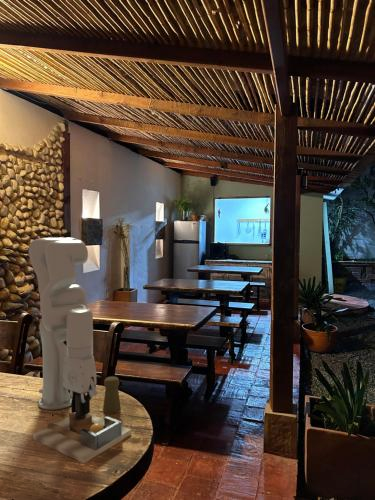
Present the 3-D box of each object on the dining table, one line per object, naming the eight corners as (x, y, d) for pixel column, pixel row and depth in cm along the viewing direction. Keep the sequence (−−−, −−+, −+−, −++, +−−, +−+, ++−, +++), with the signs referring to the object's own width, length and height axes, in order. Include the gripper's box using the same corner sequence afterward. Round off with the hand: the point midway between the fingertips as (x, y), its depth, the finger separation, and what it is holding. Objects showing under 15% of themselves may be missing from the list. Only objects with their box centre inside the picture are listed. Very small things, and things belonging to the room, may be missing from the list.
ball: (95, 426, 109) (97, 441, 109) (105, 421, 113) (107, 435, 112) (85, 425, 112) (87, 440, 111) (96, 420, 115) (98, 434, 115)
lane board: (33, 438, 114) (32, 428, 114) (81, 415, 129) (81, 406, 129) (84, 463, 102) (83, 452, 102) (131, 434, 117) (130, 424, 117)
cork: (116, 414, 130) (116, 381, 130) (99, 412, 131) (99, 380, 131) (123, 406, 136) (123, 375, 136) (107, 404, 137) (106, 374, 137)
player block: (69, 431, 115) (69, 395, 115) (82, 425, 119) (82, 389, 119) (78, 435, 113) (78, 398, 112) (91, 428, 117) (91, 392, 116)
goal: (80, 444, 109) (80, 430, 108) (106, 429, 117) (106, 416, 117) (95, 450, 105) (95, 436, 105) (121, 435, 113) (121, 421, 113)
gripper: (51, 349, 117) (52, 410, 117) (89, 359, 107) (89, 425, 108) (71, 344, 123) (72, 401, 123) (109, 352, 114) (109, 415, 114)
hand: (80, 412), depth 116 cm, fingers closed on player block, 3 cm apart
